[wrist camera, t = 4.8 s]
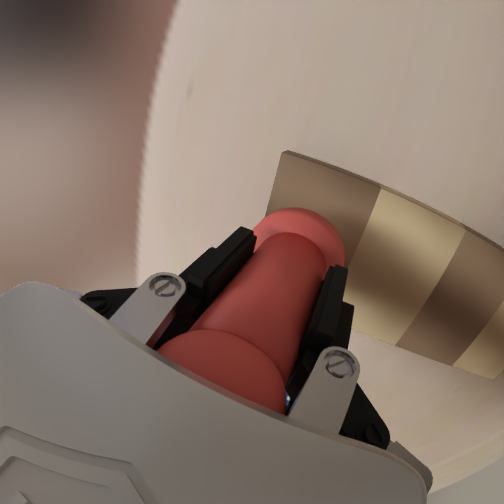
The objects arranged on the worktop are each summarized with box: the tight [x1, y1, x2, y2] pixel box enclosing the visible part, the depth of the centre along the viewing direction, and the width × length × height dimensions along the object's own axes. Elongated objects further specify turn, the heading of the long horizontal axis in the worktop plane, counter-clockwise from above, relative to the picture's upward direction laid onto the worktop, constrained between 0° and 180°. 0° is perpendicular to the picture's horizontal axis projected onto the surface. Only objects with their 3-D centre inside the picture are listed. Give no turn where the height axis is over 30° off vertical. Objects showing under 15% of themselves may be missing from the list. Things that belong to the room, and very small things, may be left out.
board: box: [265, 150, 504, 380], centre depth 14 cm, size 9×22×1 cm, turn 77°
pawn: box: [156, 207, 345, 415], centre depth 9 cm, size 5×5×10 cm
